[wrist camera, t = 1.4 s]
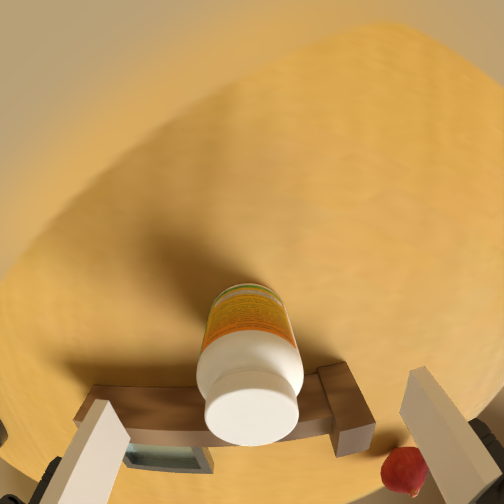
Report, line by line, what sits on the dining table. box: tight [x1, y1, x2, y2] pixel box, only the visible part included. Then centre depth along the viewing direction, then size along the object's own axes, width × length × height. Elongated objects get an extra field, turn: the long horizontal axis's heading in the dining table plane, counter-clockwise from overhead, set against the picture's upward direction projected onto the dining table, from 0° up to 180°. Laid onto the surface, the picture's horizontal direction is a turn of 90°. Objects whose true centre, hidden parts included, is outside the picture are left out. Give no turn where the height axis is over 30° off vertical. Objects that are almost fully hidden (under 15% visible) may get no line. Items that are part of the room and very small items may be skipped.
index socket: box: [122, 443, 214, 474], centre depth 23 cm, size 10×10×2 cm
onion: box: [381, 447, 429, 498], centre depth 22 cm, size 6×6×8 cm
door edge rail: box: [73, 362, 376, 458], centre depth 18 cm, size 22×3×7 cm, turn 97°
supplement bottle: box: [196, 283, 304, 446], centre depth 15 cm, size 5×5×10 cm
